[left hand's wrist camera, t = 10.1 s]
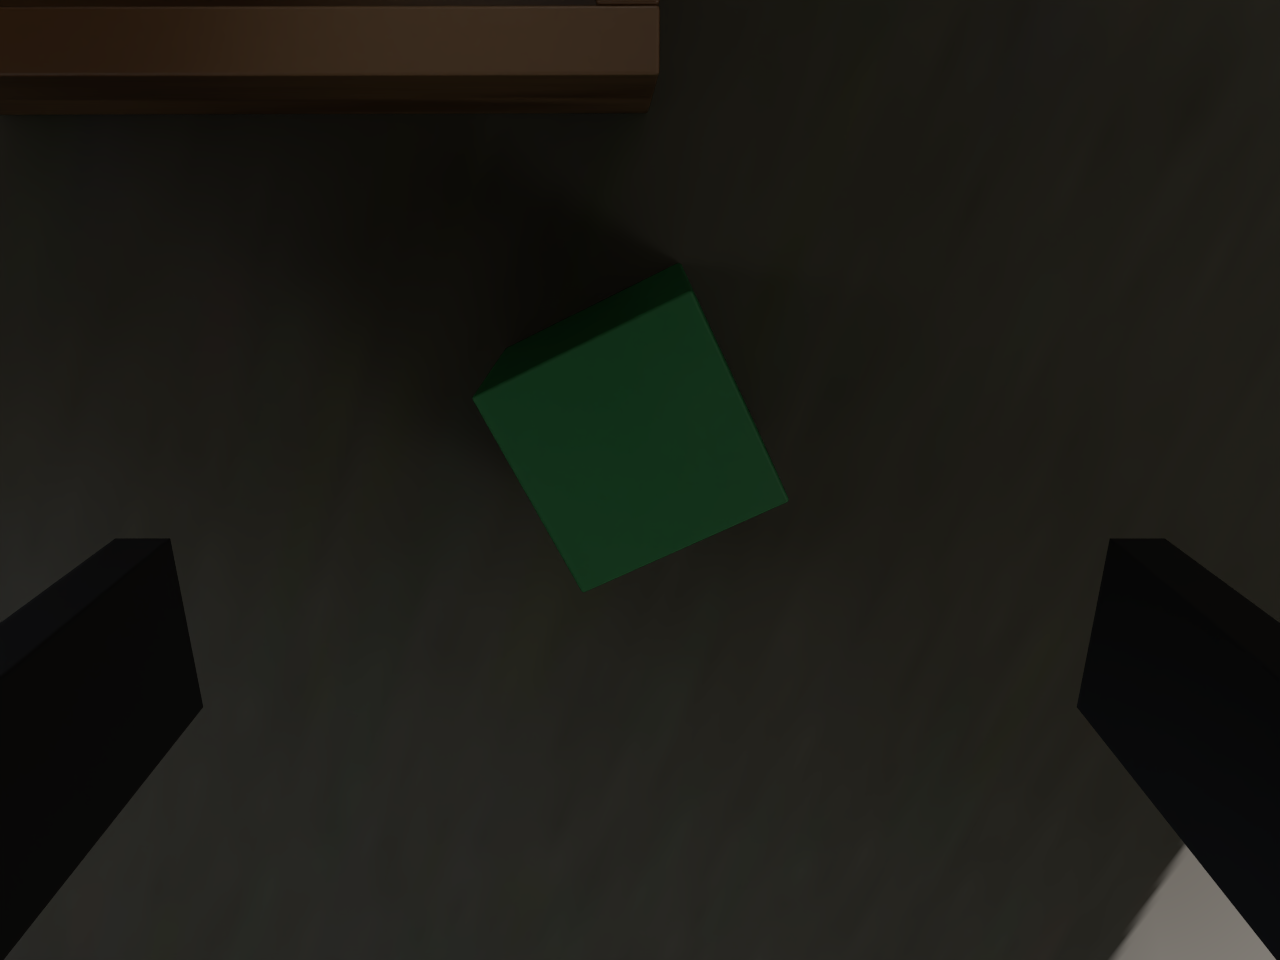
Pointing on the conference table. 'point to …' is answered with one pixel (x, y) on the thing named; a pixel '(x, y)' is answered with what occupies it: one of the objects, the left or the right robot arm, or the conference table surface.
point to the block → (629, 430)
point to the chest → (327, 56)
